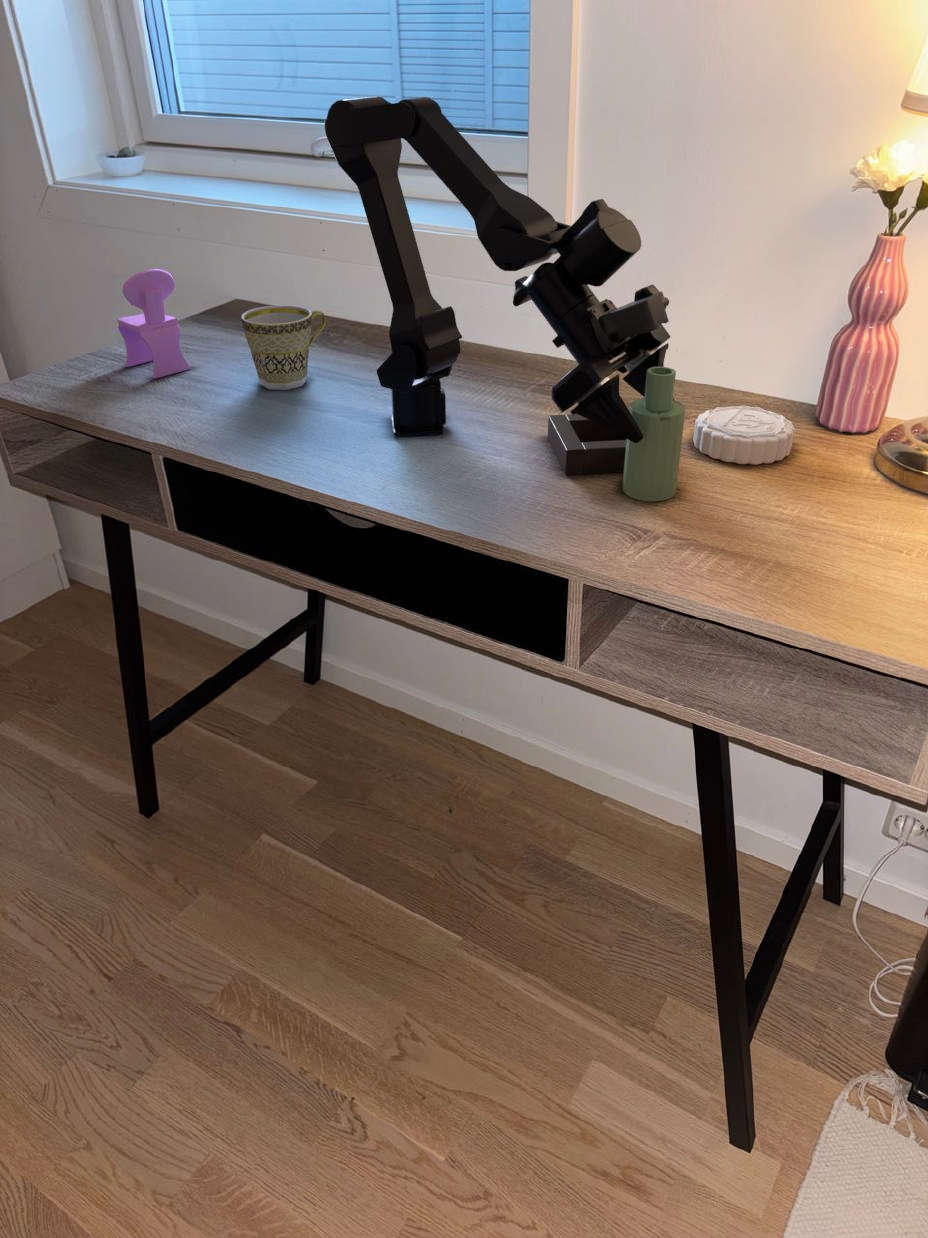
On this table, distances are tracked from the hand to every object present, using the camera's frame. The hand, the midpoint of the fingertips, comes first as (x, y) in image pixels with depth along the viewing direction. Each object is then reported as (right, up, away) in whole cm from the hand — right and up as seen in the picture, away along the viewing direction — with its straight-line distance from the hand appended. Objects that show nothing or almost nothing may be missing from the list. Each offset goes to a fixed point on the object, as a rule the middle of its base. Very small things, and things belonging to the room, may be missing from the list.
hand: (657, 427), depth 108 cm
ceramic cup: (-47, +14, +37) cm, 62 cm away
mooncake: (+14, 0, +15) cm, 20 cm away
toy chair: (-69, +17, +43) cm, 83 cm away
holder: (-4, -1, +13) cm, 14 cm away
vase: (0, -6, +4) cm, 8 cm away
